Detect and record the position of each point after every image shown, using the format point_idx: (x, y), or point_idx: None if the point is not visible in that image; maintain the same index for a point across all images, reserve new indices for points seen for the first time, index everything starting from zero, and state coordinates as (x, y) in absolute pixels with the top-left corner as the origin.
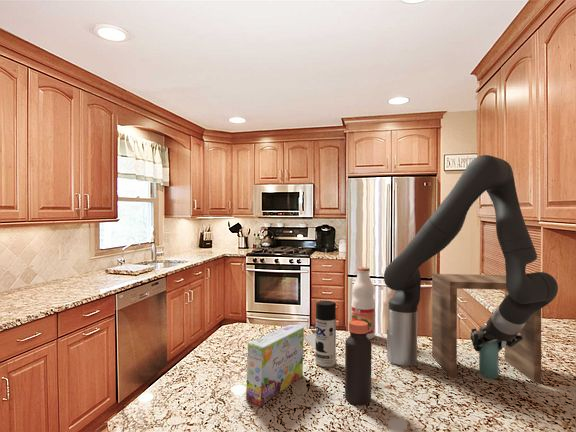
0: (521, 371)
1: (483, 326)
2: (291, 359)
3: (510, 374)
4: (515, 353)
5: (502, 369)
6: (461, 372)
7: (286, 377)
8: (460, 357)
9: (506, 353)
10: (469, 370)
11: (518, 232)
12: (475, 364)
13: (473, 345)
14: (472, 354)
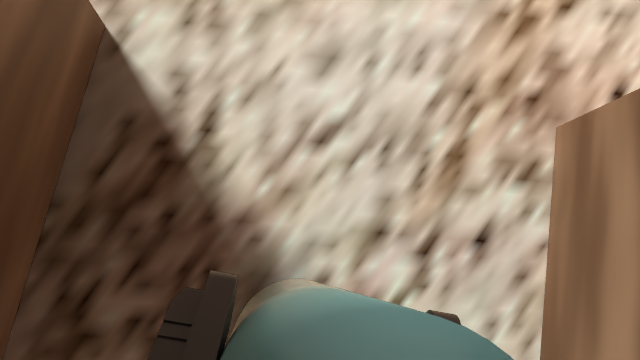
0: (548, 331)
1: (385, 312)
2: None
3: None
4: (630, 252)
5: (451, 261)
6: (112, 289)
7: None
8: (284, 40)
9: (596, 132)
10: (200, 259)
11: None
12: (315, 164)
13: (170, 310)
14: (403, 5)
